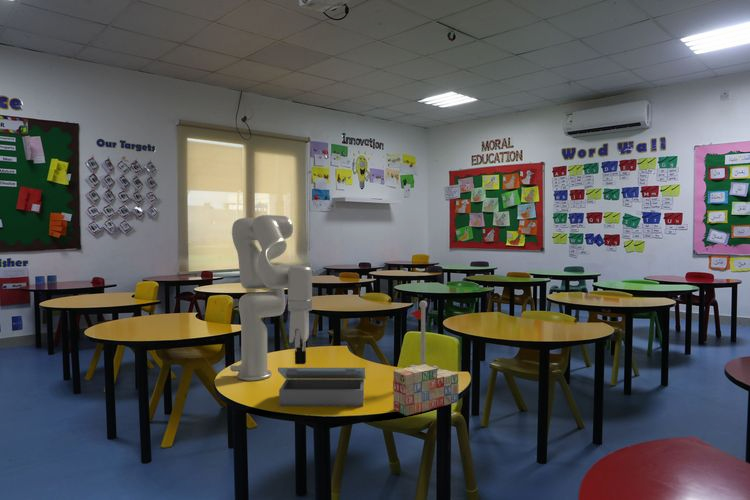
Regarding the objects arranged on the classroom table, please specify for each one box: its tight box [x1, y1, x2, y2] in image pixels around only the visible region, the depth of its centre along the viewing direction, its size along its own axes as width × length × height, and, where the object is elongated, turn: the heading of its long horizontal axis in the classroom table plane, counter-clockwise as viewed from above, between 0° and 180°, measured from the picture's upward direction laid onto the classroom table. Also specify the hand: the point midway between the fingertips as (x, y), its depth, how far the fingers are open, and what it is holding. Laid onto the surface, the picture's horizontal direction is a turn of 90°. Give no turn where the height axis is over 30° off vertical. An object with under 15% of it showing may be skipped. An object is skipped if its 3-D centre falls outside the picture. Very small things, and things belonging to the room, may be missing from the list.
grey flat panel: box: [277, 367, 366, 380], centre depth 153 cm, size 27×13×2 cm, turn 90°
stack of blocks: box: [392, 364, 459, 416], centre depth 148 cm, size 21×6×12 cm, turn 124°
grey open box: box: [278, 379, 365, 407], centre depth 153 cm, size 26×12×5 cm, turn 90°
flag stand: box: [405, 300, 442, 371], centre depth 171 cm, size 13×13×30 cm
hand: (300, 363), depth 150 cm, fingers closed
